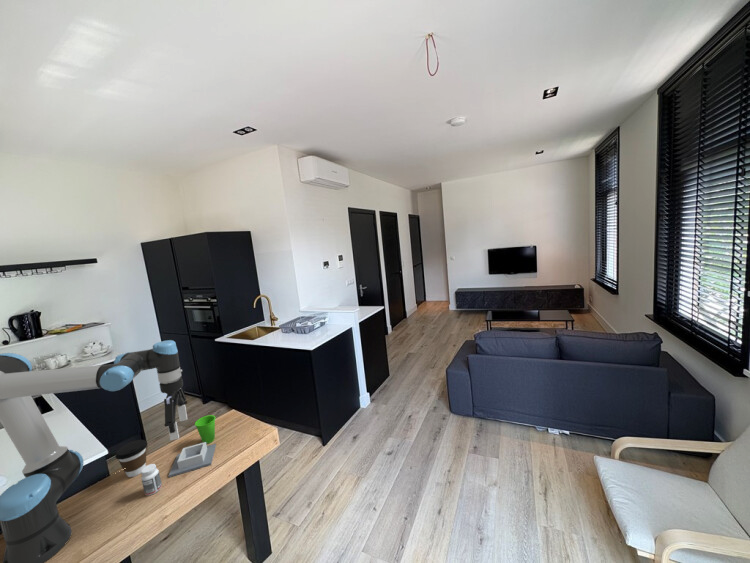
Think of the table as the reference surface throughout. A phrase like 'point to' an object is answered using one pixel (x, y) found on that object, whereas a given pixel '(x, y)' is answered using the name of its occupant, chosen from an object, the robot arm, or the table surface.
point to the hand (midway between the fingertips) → (179, 429)
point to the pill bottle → (151, 479)
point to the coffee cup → (133, 457)
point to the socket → (193, 458)
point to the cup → (206, 428)
